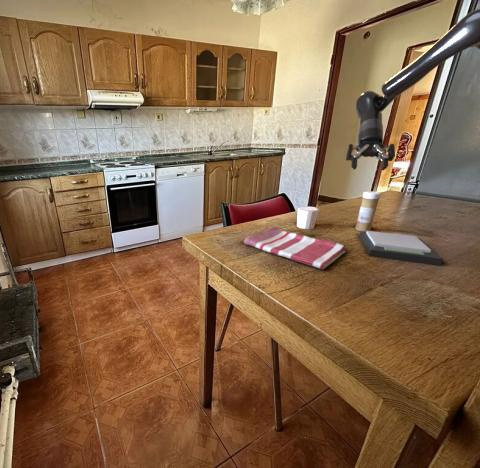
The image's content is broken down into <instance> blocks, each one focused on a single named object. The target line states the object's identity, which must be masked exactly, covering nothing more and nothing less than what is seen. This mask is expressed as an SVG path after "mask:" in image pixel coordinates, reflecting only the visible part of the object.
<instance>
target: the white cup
mask: <svg viewBox="0 0 480 468" xmlns="http://www.w3.org/2000/svg"><path fill="white" fill-rule="evenodd" d="M319 212H320V209H319V208H318V207H315V206H307V205H302V206H298V207H297V217H296V219H297V220H296V226H297V228H299V229H303V230H313V229H314V228H315V225H316V223H317V219H318V216H319Z"/></svg>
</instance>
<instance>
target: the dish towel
mask: <svg viewBox="0 0 480 468" xmlns="http://www.w3.org/2000/svg"><path fill="white" fill-rule="evenodd" d="M243 244H244V245H246V246H250V247H252V248H256V249H259V250H261V251H264V252H267V253H270V254H273V255H276V256H280V257H284V258H287V259H289V260H292V261H295V262H297V263H301V264H304V265H307V266H310V267H314V268H317V269H320V270H324V269H325V268H327V267H329V266H330V265H331V264H332V263H334V262H335V261H336V260H338V259H339V258H340V257H341V256H342V255H343V254H345V253H346V246H345V245H344V244H341V243H337V242H334V241H331V240H326V239H321V238H313V237H310V236H307V235H304V234H300V233H294V232H289V231H285V230H282V229H279V228H278V227H276V226H274V225H273V226H271V227H269V228H267V229H266V230H263V231H261V232H258V233H254V234H251V235H249V236H247V237H246V238H245V239H244V240H243Z"/></svg>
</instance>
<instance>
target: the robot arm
mask: <svg viewBox="0 0 480 468" xmlns="http://www.w3.org/2000/svg"><path fill="white" fill-rule="evenodd" d="M469 48H476V49H478V50H480V8H477V9H474V10H472V11H470V12H469V13H467V14H466V15H465V16H463V17H462V18H461V19H460V20H458V21H457V22H456V23H455V24H454V25H453V26H452V27H451V28H450V29H449V30H448V31H447V32H446V33H445V34H444V35H442V36H441V37H440V38H439V39H438V40H437V41H436V42H435V43H434V44H432V45H431V47H429V48H428V49H427V50H426V51H424V52H423V53H422V54H421V55H419V56H418V57H417V58H415V59H414V60H413V61H412V62H410V63H409V64H408V65H406V66H405V67H404V68H402V69H401V70H400V71H398V72H397V73H395V74H394V75H393V76H391V77H390V78H389V79H387V80H386V81H385V82H384V83H383V84H382V85H381V92H382V94H383V95H381V94H379V93H377V92H375V91H373V90H366V91H364V92H363V93H361V94H360V95H359V96H358V98H357V99H356V101H355V111H356V114H357V117H358V119H359V126H358V131H357V145H354V144H352V143H349V144H348V147H347V150H346V156H345V161H350V162H351V165H350V167H351V169H352V170H357V167H358V160H360V159H361V158H362V157H363V158H376V159H377V160H380V161H381V171H385V170H386V169H387V168H388V166H389V162H392V161H393V160H394V159H395V157H396V148H395V144H394V143H390V144H389V145H385V144H384V125H383V113H382V112H383V111H385V109H386V108H388V106H389V105H390V104H391V103H392V102H394V100H396V98H398V97H399V96H400V95H402V94H403V93H405V92H407V90H409V89H411V88H412V87H413V86H415V85H416V84H418V83H419V82H420V81H422V80H423V79H424V78H425V77H426V76H428V75H429V74H430V72H432V71H434V69H435V68H437V67H439V66H440V65H441V64H442V63H444V62H446V61H447V60H448V59H451V58H453V57H454V56H456V55H458V54H460V53H461V52H463V51H466V50H468V49H469ZM354 151H356V153H355V154H353V152H354Z"/></svg>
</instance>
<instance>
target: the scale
mask: <svg viewBox="0 0 480 468" xmlns="http://www.w3.org/2000/svg"><path fill="white" fill-rule="evenodd" d="M358 239H359V242H361V244H362V246H363V248H364V250H365V251H366V253H367V255H368V257H373V258H374V257H375V258H381V259H388V260H396V261H402V262H410V263H417V264H425V265H432V266H440V267H441V265H442V263H443V260H444V258H443V257H442V256H441V255H440V254H438V253H437V252H436V251H435V250H434V249H433V248H432V247H431V246H430V245H429V244H427V243H426V242H425V241H424V240H423V239H422V238H420V237H418V236H417V235H412V234H411V235H410V234H400V233H391V232H379V231H373V230H371V231H367V232H362V231H359V235H358Z"/></svg>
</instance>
